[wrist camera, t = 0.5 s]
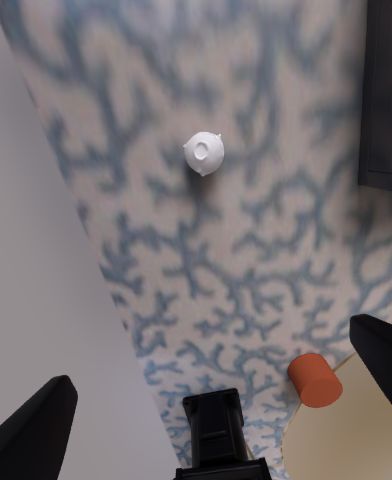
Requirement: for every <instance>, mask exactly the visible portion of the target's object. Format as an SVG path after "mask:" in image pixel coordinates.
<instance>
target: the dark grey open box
mask: <svg viewBox="0 0 392 480" xmlns="http://www.w3.org/2000/svg"><path fill="white" fill-rule="evenodd" d="M358 184H359V185H363V186H369V187H374V188H379V189H384V190H389V191H392V0H369V5H368V22H367V40H366V57H365V75H364V92H363V110H362V128H361V145H360V163H359V180H358Z"/></svg>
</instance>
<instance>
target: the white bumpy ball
mask: <svg viewBox="0 0 392 480" xmlns="http://www.w3.org/2000/svg"><path fill="white" fill-rule="evenodd" d="M183 148H184V149H185V157H186V160H187V163H188V164H189V166H190V167H191V168H192V169H193V170H195V171H196V172H197V173H200V174H201V176H205V175H206V174H210V173H212V172H214V171H215V170H217V169H218V167H219V166H220V165H221V163H222V161H223V158H224V147H223V143H222V141H221V134H219V135H217V136H216V135H215V134H211V133H208V132H200V133H197V134H196V135H194V136H193V137H192V138H191V139H190V140H189V141H188V142H187V144H186V145H184V146H183Z"/></svg>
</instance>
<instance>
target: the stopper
mask: <svg viewBox="0 0 392 480" xmlns="http://www.w3.org/2000/svg"><path fill="white" fill-rule="evenodd" d="M288 374H289V376H290V378H291V381H292V383H293V385H294V387H295V389H296V391H297V393H298V395H299V398H300V400H301V401H302V403H303V404H305V405H306V406H308V407H313V408H319V407H324V406H327V405H330V404H332V403H333V402H335V401H336V400H337V399H338V398H339V397H340V396H341V394H342V390H343V388H342V384H341V383H340V381H339V380H338V378H337V377H336V375H335V374H334V372H333V371H332V369H331V368H330V366H329V365H328V363H327V362H326V360H325V359H324V358H323V357H322V356H320V355H318V354H304V355H301V356H299V357H297V358H296V359H295V360H293V361H292V363H291V364H290V366H289V368H288Z"/></svg>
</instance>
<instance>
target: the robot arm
mask: <svg viewBox="0 0 392 480" xmlns="http://www.w3.org/2000/svg"><path fill="white" fill-rule="evenodd" d="M349 336H350V341H351V343H352V345H353V347H354V348H355V350H356V351H357V353H358V354H359V356H360V358H361V359H362V361H363V362H364V364H365V365H366V367H367V368H368V370H369V371H370V373H371V375H372V376H373V378H374V379H375V381H376V382H377V384H378V385H379V387H380V388H381V390H382V391H383V393H384V394H385V396H386V397H387V399H388V400H389V401H390V402H391V404H392V324H390V323H387V322H385V321H382V320H380V319H377V318H375V317H372V316H370V315H367V314H360V315H355V316H352V317H351V318H350V335H349ZM77 400H78V394H77V391H76V389H75V387H74V385H73V384H72V382H71V380H70V378H69V377H68V376H67V375H62V376H57V377H54V378H52V379H50V380H49V381H48V382H47V383H46V384H45V385H44V386H43V387H42V388H41V389H40V390H38V391H37V392H36V393H35V394H34V395H33V396H32V397H31V398H30V399H29V400H27V401H26V402H25V403H24V404H23V405H22V406H21V407H20V408H19V409H18V410H17V411H16V412H14V413H13V414H12V415H11V416H10V417H9V418H8V419H7V420H6V421H5V422H3V424H1V425H0V480H57V478H58V475H59V472H60V469H61V466H62V463H63V459H64V455H65V452H66V447H67V443H68V439H69V435H70V431H71V426H72V422H73V417H74V414H75V409H76V405H77ZM183 406H184V409H185V412H186V415H187V418H188V421H189V424H190V427H191V445H192V468H187V469H182V468H177V469H176V478H174V479H173V480H272V479H271V476H270V473H269V470H268V466H267V463H266V460H265V457H263V458H259V459H257V460H250V461H249V459H248V454H247V449H246V445H245V440H244V435H243V431H242V427H243V426H244V420H243V415H242V410H241V404H240V399H239V394H238V390H237V389H236V388H232V389H227V390H221V391H216V392H211V393H205V394H200V395H195V396H189V397H185V398H184V399H183Z"/></svg>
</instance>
